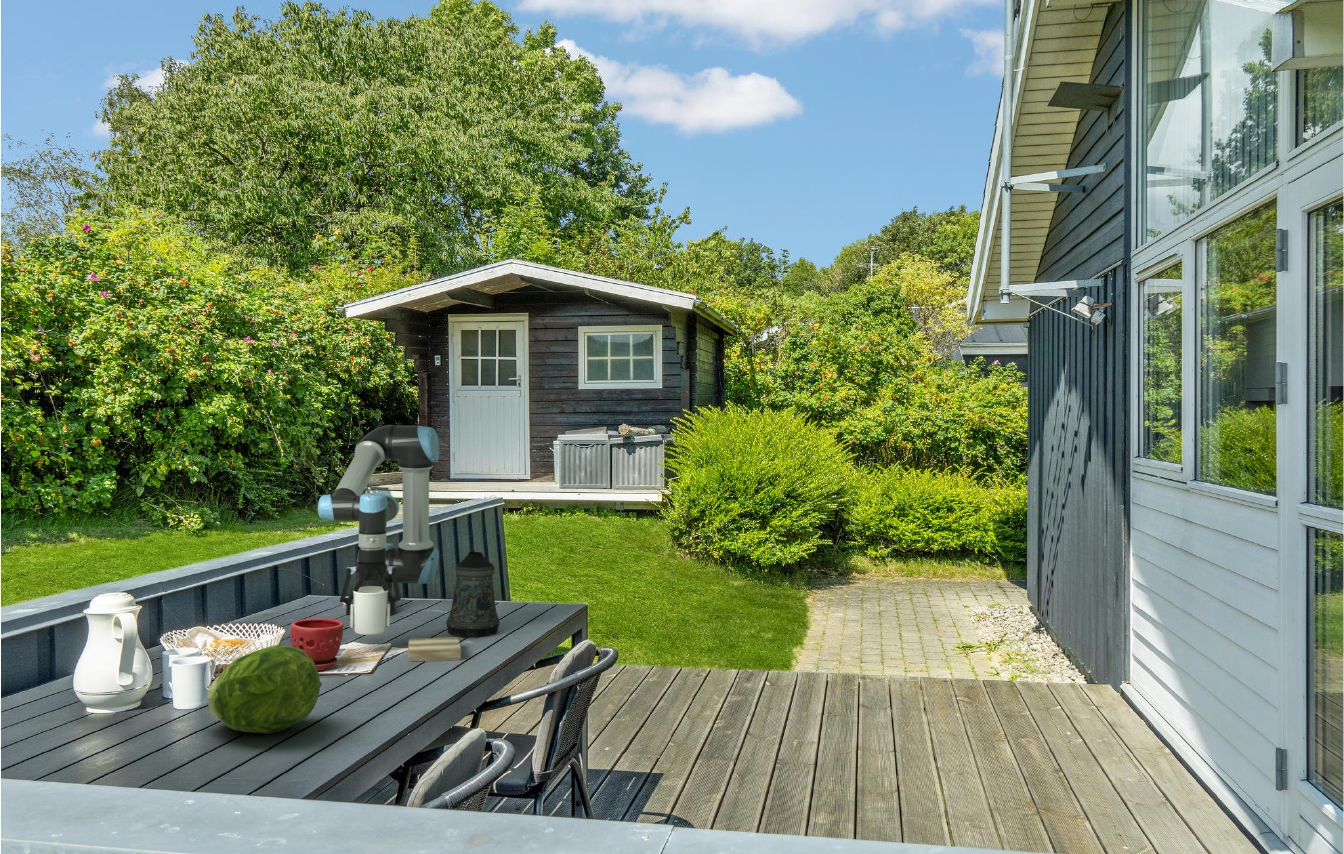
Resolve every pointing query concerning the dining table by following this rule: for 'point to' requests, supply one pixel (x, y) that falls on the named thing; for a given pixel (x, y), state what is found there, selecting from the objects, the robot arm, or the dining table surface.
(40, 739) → the dining table surface
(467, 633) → the beer stein
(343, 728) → the dining table surface
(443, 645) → the plinth
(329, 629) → the plant pot
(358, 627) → the candle holder
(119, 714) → the dining table surface
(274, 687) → the lettuce
